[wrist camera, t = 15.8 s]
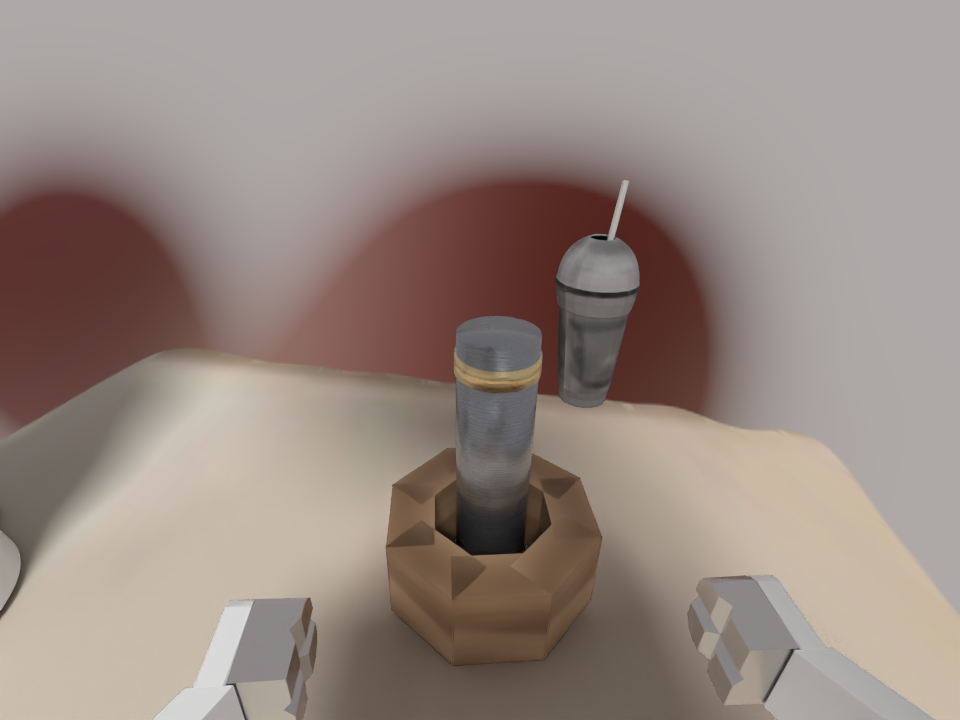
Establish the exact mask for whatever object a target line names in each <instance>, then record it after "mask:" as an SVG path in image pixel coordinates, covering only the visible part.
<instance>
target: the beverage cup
mask: <svg viewBox="0 0 960 720" xmlns="http://www.w3.org/2000/svg"><path fill="white" fill-rule="evenodd" d="M628 184H629V181H626V180H623V182H622V186H621V190H620V193H619V197H618V201H617V205H616V208H615V212H614V216H613V220H612V224H611V228H610V231H609V235H605V234H594V235H590V236H586V237H584V238H582V239H580V240H579V241H577V242H576V243H574V244H573V245H572V246H571V247H570V248H569V249H568V251H567V252H566V254H565V255H564V257H563V259H562V261H561V264H560V267H559V270H558V274H557V277H556V279H555V282H556V284H557V288H556V291H557V301H558V304H559V337H558V338H559V340H558V381H559V396H560V398H561V399H562V400H563V401H565V402H566V403H568V404H570V405H573V406H577V407H583V408H589V407H596V406H599V405H601V404H603V402H604V401H605V397H606V394H607V391H608V388H609V386H610V382H611V379H612V375H613V371H614V367H615V364H616V360H617V356H618V352H619V349H620V345H621V341H622V337H623V333H624V330H625V326H626V322H627V318H628V315H629V311H630V310H631V309H632V306H633V304H634V301H635V299H636V295H637V291H639V290H640V286H639V268H638V263H637V260H636V257H635V255H634V253H633V252H632V250H631V249H630V248H629V247H628V245H627V244H625V243H624V242H623V241H622V240H620V239H618V238H616V237H615V232H616V229H617V225H618V221H619V217H620V214H621V210H622V206H623V203H624V199H625V195H626V191H627V187H628Z"/></svg>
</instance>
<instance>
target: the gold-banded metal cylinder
mask: <svg viewBox="0 0 960 720" xmlns="http://www.w3.org/2000/svg"><path fill="white" fill-rule="evenodd" d="M541 342H542V333H541V331H540V329H539V328H538V327H536V326H535V325H533V324H532V323H530V322H527V321H525V320H521V319H517V318H512V317H504V316H488V317H479V318H475V319H472V320H469V321H466V322H464V323H463V324H461V325H460V326H459V327H458V328H457V331H456V347H455V349H454V373H455V376H456V545H457V546H459V547H460V548H462V549H463V550H464V551H466V552H467V553H469V554H470V555H471V556H477V555H498V554H519V553H523V551H524V540H525V528H526V516H527V505H528V493H529V482H530V470H531V458H532V447H533V435H534V423H535V412H536V400H537V389H538V380H539V378H540V376H541V367H542V351H541Z"/></svg>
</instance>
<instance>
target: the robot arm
mask: <svg viewBox="0 0 960 720" xmlns="http://www.w3.org/2000/svg"><path fill="white" fill-rule="evenodd" d="M20 566H21V558H20V553H19V550H18V548H17V546H16V545H15V543H14V542H13V541H12V540H11V539H10V538H9V537H7V536H6V535H5V534H4V533H3V532H2V531H1V530H0V610H1V609H2V607H3V606H4V605H5V603H6V601H7V600H8V598H9V597H10V595H11V593H12V591H13V589H14V587H15V584H16V582H17V579H18V576H19V572H20ZM696 590H697V592H698V594H699V597H698V598H697V599H696V600H694V601H693V602H692V603H691V605H690V608H689V611H688V624H689V630H690V633H691V637H692V639H693V642H694V644H695V646H696V648H697V650H698V651H699V652H700V653H701V654H703V655H704V656H705V657H706V658H707V659H708V660H709V666H708V671H707V672H708V674H709V676H710V678H711V680H712V682H713V685H714V687H715V689H716V691H717V693H718V695H719V697H720V699H721V701H722V704H723V705H747V704H764V707H765V708H766V709H767V710H768V711H769V712H770V713H771V714H772V715H773V716H774V717H775V718H776V719H777V720H935V719H934V718H932V717H931V716H929V715H928V714H927V713H925V712H924V711H922V710H921V709H919V708H918V707H917V706H915V705H914V704H912V703H911V702H910V701H908V700H907V699H905V698H904V697H902V696H901V695H900V694H898V693H897V692H895V691H894V690H893V689H891V688H890V687H888V686H887V685H885V684H884V683H883V682H881V681H880V680H878V679H877V678H875V677H874V676H873V675H871V674H870V673H868V672H867V671H866V670H864V669H863V668H861V667H860V666H858V665H857V664H856V663H854V662H853V661H851V660H850V659H849V658H847V657H846V656H844V655H843V654H841V653H840V652H839V651H837V650H836V649H834V648H826V647H825V645H824V644H823V642H822V641H821V640H820V638H819V637H818V635H817V634H816V633H815V631H814V630H813V628H812V627H811V625H810V624H809V623H808V621H807V620H806V618H805V617H804V615H803V614H802V613H801V611H800V610H799V608H798V607H797V606H796V604H795V603H794V601H793V600H792V598H791V597H790V596H789V594H788V593H787V591H786V590H785V588H784V587H783V586H782V584H781V583H780V581H779V580H778V579H777V578H775V577H774V576H773V575H757V576H746V575H744V576H729V577H713V578H703V579H702V580H700V581H699V583H698V586H697V588H696ZM312 609H313V607H312V603H311V599H310V598H282V599H246V600H230V601H229V603H228V604H227V605H226V607H225V608H224V610H223V612H222V615H221V617H220V620H219V622H218V625H217V627H216V630H215V633H214V635H213V638H212V640H211V643H210V645H209V648H208V650H207V653H206V655H205V658H204V660H203V663H202V665H201V668H200V670H199V673H198V676H197V678H196V681H195V683H194V686H193V687H189V688H184V689H183V690H182V691H181V692H180V693H179V694H178V695H177V696H176V697H175V698H174V699H173V700H172V701H171V702H170V703H169V704H168V705H167V706H166V707H165V708H164V709H163V710H162V711H160V712H159V713H158V714H157V715H156V716H155V717H154V718H153V719H152V720H303V718H304V713H305V709H306V704H307V699H308V697H307V692H306V687H305V682H306V681H307V679H308V678H309V677H310V676H311V675H312V674H313V669H314V663H315V658H316V647H317V630H316V624H315V622H314V621H312V620H311V619H310V618H311V614H312Z"/></svg>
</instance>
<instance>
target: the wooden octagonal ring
mask: <svg viewBox="0 0 960 720" xmlns="http://www.w3.org/2000/svg"><path fill="white" fill-rule="evenodd" d="M392 487H393V488H392V497H391V507H390V516H389V526H388V535H387V544H386V555H387V566H388V577H389V588H390V600H391V610H392V611H393V612H394V613H395V614H397V615H398V616H399V617H400V618H401V619H402V620H403V621H404V622H405V623H407V624H408V625H409V626H410V627H411V628H412V629H413V630H414V631H415V632H417V633H418V634H419V635H420V636H421V637H422V638H423V639H424V640H425V641H427V642H428V643H429V644H430V645H431V646H432V647H433V648H434V649H435V650H437V651H438V652H439V653H440V654H441V655H442V656H443V657H444V658H445V659H447V660H448V661H449V662H450V663H451V664H452V665H453V666H454V665H468V664H483V663H499V662H514V661H530V660H545V658H546V657H547V656H548V654H549V653H550V652H551V650H552V649H553V648H554V646H555V645H556V644H557V643H558V641H559V640H560V639H561V637H562V636H563V635H564V633H565V632H566V631H567V629H568V628H569V627H570V625H571V624H572V623H573V622H574V620H575V619H576V618H577V616H578V615H579V614H580V612H581V611H582V610H583V608H584V607H585V606H586V604H587V603H588V602H589V600H591V595H592V589H593V584H594V579H595V573H596V568H597V562H598V557H599V551H600V546H601V541H602V536H601V533H600V531H599V528H598V525H597V523H596V520H595V517H594V515H593V512H592V509H591V507H590V504H589V501H588V499H587V496H586V493H585V491H584V488H583V485H582V483H581V480H580V477H577V476H575V475H573V474H571V473H569V472H567V471H565V470H563V469H562V468H560V467H558V466H556V465H554V464H552V463H550V462H548V461H546V460H544V459H542V458H540V457H538V456H536V455H534V454H532V458H531V470H530V482H529V493H528V505H527V516H526V528H525V540H524V543H525V544H527V545H528V546H530V547H529V548H528V549H527V550H526V551H525V552H524V553H519V554H498V555H477V556H471V555H470V554H469V553H467V552H466V551H464V550H463V549H462V548H460V547H459V546H457V545H456V544H455V543H453V541H454V540H455V539H456V448H447V449H446V450H444V451H443V452H441V453H440V454H438V455H437V456H435V457H434V458H432V459H431V460H429V461H428V462H426V463H425V464H423V465H422V466H420V467H419V468H417V469H416V470H414V471H413V472H411V473H410V474H408V475H407V476H405V477H404V478H402V479H401V480H399V481H398V482H396V483H394V484H393V485H392Z"/></svg>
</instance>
